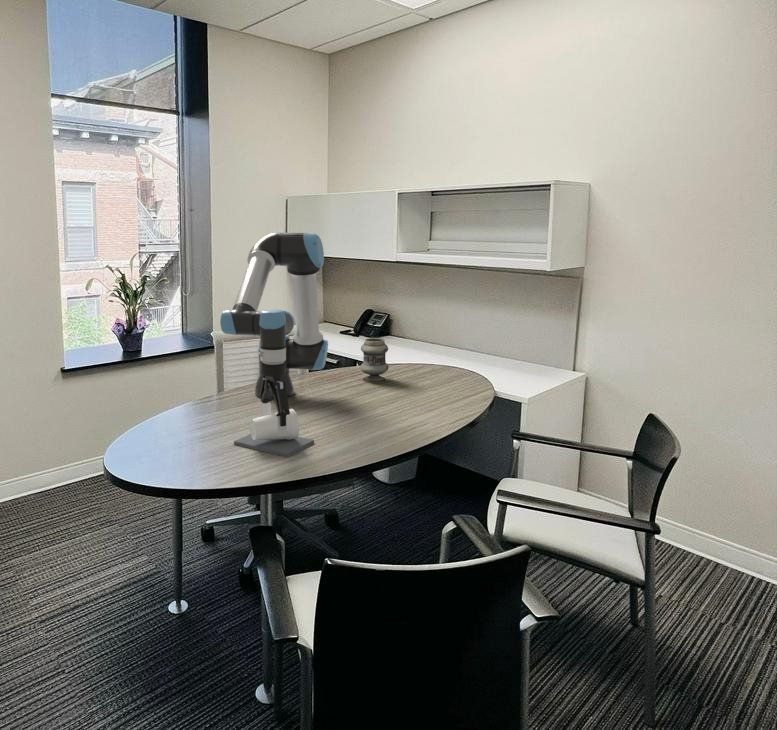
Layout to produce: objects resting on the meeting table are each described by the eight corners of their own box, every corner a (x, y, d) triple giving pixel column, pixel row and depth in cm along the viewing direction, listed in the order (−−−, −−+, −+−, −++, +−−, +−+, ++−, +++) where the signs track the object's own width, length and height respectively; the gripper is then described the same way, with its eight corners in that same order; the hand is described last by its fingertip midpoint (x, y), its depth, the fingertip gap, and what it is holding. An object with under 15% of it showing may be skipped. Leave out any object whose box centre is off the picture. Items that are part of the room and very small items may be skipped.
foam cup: (246, 415, 197) (286, 409, 203) (250, 445, 196) (289, 438, 203) (255, 413, 189) (296, 408, 195) (259, 444, 188) (300, 438, 195)
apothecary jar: (355, 378, 280) (356, 337, 276) (380, 375, 286) (381, 336, 282) (367, 384, 270) (368, 342, 266) (392, 382, 275) (393, 341, 271)
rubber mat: (234, 444, 196) (233, 441, 196) (263, 431, 208) (263, 428, 208) (286, 456, 187) (286, 453, 187) (314, 442, 199) (314, 439, 199)
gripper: (247, 354, 201) (249, 419, 205) (275, 371, 180) (276, 443, 184) (270, 352, 204) (271, 416, 209) (300, 369, 183) (301, 439, 188)
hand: (274, 429), depth 197 cm, fingers open, 13 cm apart
